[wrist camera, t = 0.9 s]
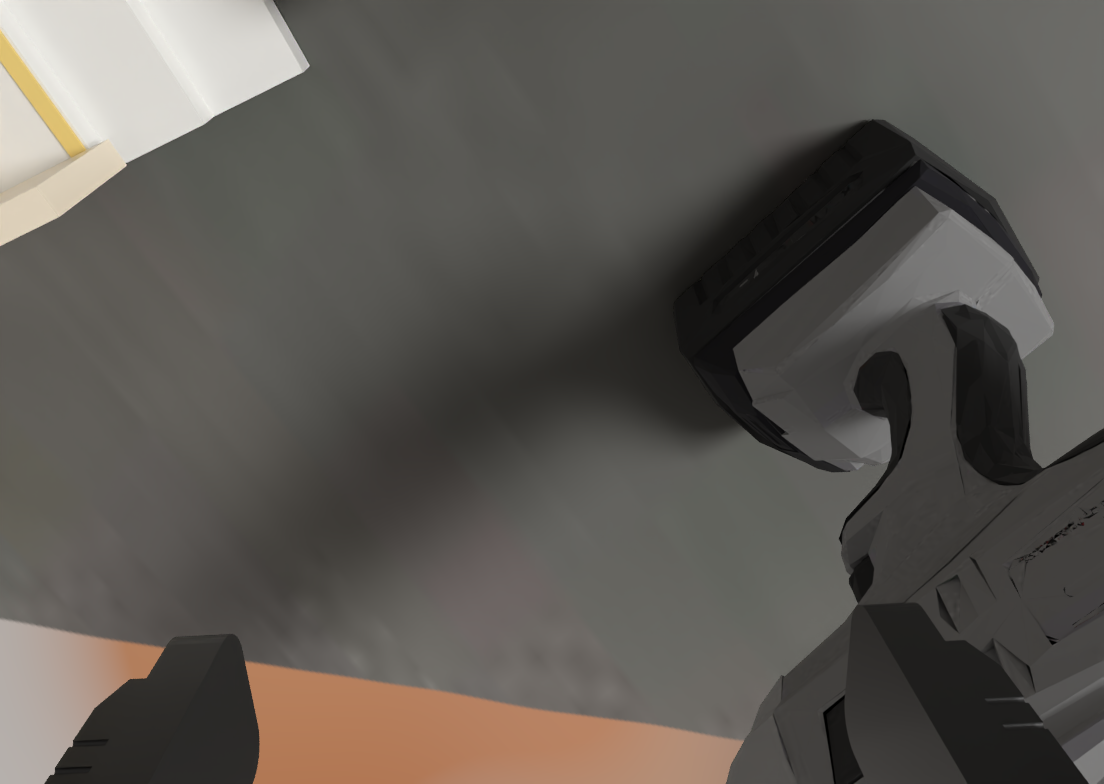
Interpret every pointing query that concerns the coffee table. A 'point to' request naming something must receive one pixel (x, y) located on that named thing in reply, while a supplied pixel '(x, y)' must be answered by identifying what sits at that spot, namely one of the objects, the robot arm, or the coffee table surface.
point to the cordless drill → (910, 436)
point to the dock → (119, 87)
